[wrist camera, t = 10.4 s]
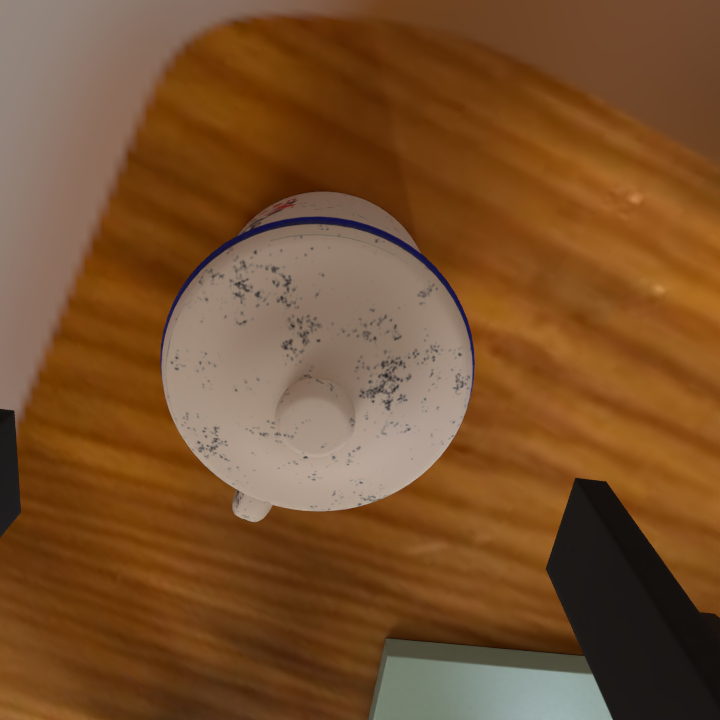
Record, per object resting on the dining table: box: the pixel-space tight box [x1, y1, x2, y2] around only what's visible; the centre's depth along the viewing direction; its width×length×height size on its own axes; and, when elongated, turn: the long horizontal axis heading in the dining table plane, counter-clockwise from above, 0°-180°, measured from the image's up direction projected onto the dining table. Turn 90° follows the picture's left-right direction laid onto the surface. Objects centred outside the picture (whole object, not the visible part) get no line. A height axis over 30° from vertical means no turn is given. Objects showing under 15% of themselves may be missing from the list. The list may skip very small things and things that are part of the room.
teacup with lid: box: [161, 192, 475, 522], centre depth 21 cm, size 12×9×12 cm
